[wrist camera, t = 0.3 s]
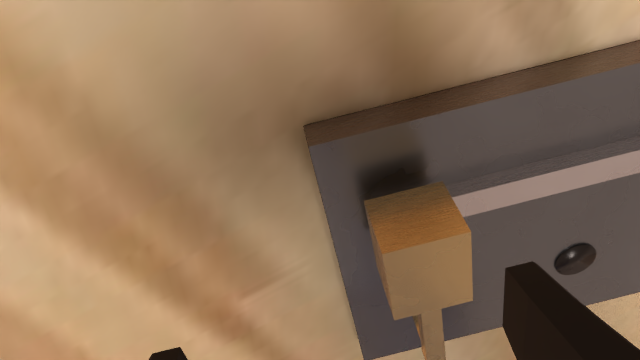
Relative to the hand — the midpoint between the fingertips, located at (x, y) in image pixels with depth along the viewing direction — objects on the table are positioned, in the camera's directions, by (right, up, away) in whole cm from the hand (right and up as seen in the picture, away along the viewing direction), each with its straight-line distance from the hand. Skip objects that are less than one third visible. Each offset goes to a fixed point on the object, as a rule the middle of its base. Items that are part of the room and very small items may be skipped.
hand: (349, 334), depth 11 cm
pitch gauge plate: (+13, +3, +13) cm, 18 cm away
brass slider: (+3, 0, +11) cm, 11 cm away
